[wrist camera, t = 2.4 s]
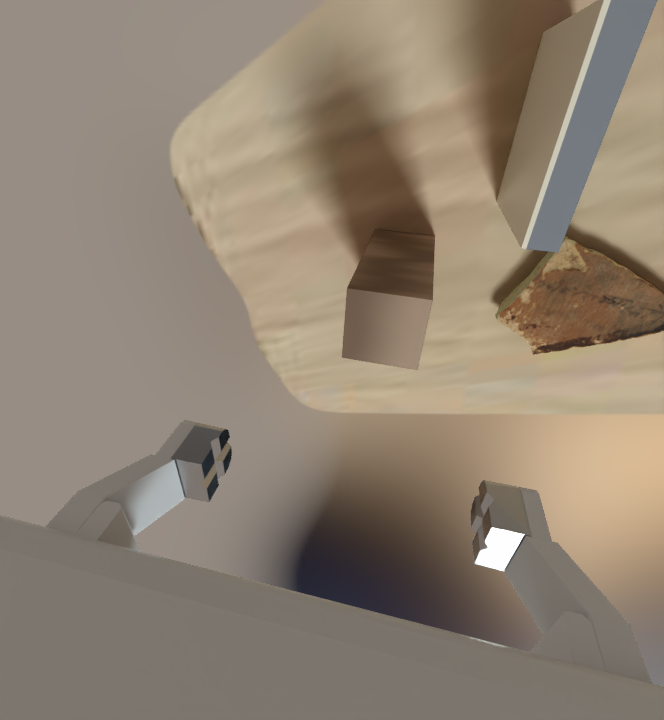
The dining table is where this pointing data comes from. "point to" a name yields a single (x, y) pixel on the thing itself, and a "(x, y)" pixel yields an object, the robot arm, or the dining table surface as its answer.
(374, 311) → the walnut block
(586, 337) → the shard
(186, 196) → the dining table surface
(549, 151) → the slate board
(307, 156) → the dining table surface
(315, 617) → the robot arm
